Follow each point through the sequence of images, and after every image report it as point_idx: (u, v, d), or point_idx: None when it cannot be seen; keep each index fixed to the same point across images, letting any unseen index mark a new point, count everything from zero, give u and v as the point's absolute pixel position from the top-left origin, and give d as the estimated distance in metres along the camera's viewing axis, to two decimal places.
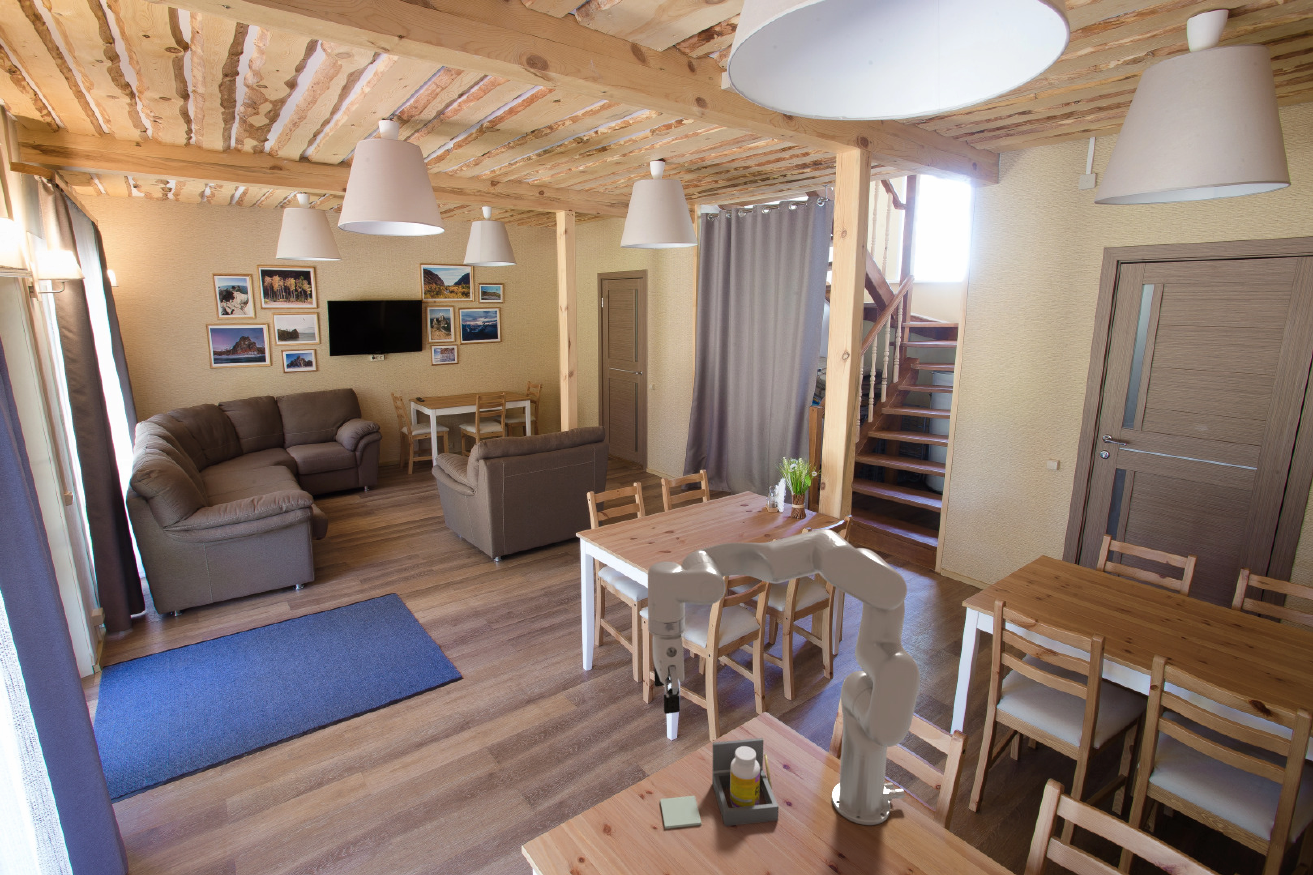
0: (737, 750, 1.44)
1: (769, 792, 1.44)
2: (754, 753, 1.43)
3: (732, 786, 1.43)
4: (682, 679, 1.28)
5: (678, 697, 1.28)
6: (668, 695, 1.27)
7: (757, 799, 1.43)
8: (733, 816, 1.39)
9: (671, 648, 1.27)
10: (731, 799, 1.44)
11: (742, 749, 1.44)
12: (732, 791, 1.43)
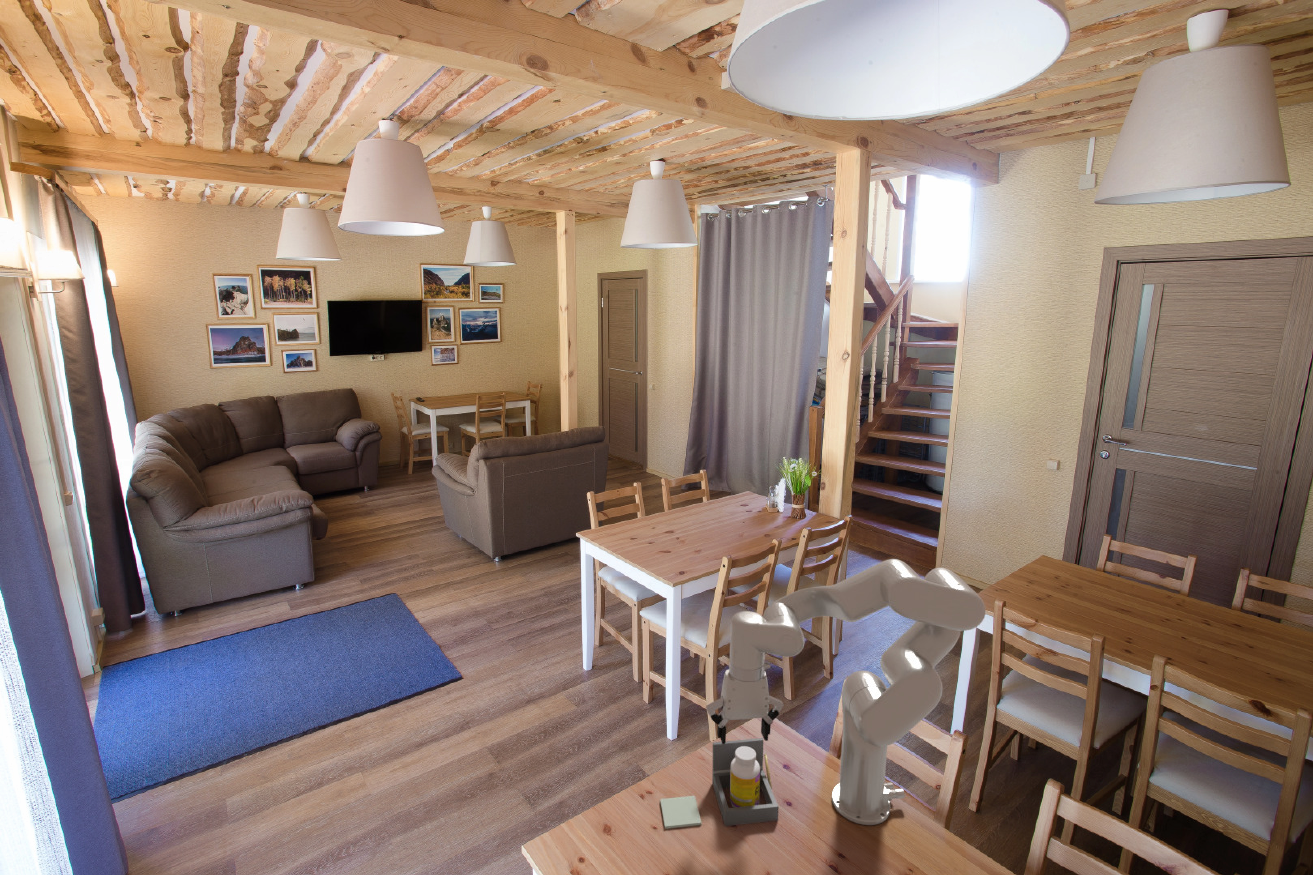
0: (737, 750, 1.44)
1: (769, 792, 1.44)
2: (754, 753, 1.43)
3: (732, 786, 1.43)
4: None
5: None
6: (772, 720, 1.41)
7: (757, 799, 1.43)
8: (733, 816, 1.39)
9: None
10: (731, 799, 1.44)
11: (742, 749, 1.44)
12: (732, 791, 1.43)
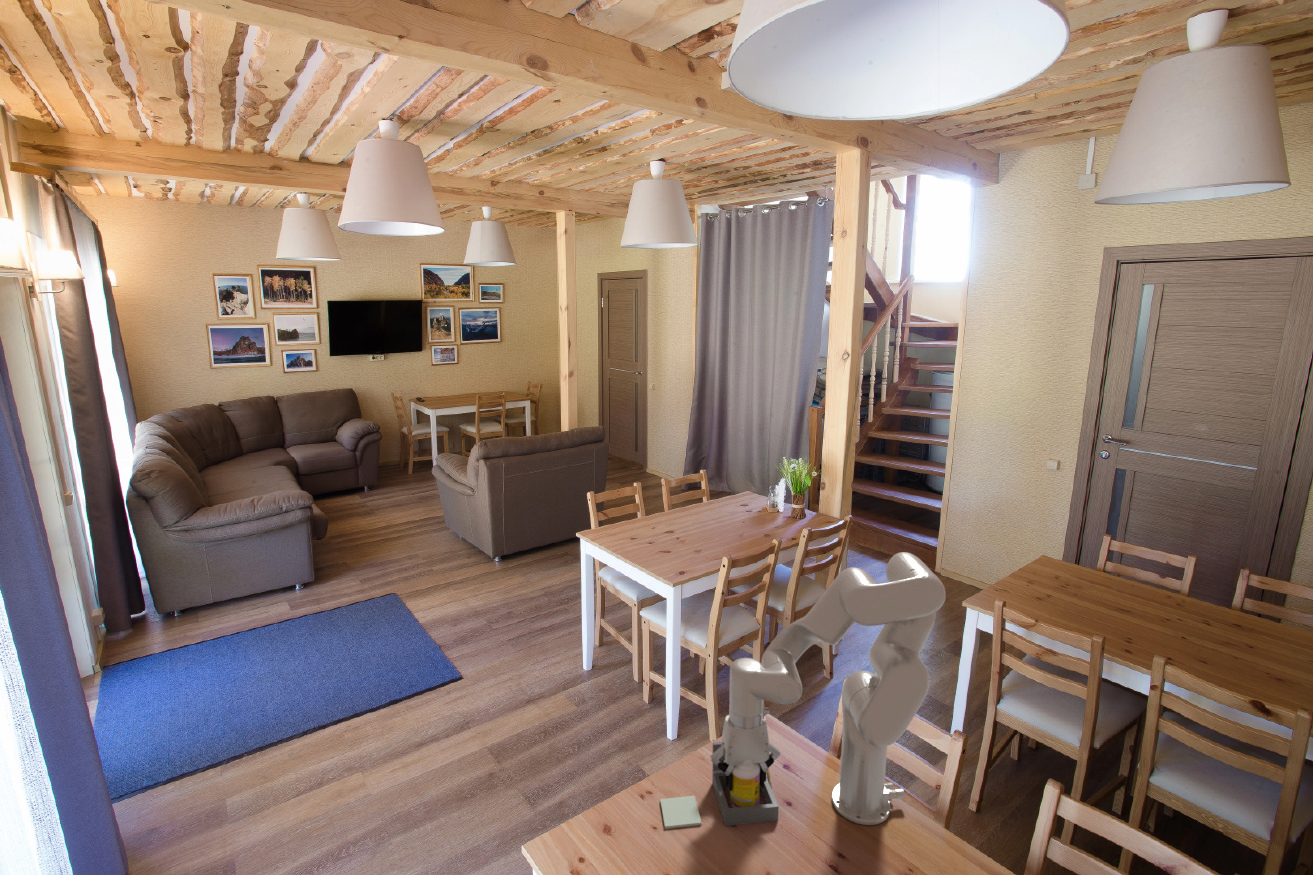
0: None
1: (769, 792, 1.44)
2: None
3: (732, 786, 1.43)
4: None
5: None
6: (768, 767, 1.43)
7: (757, 799, 1.43)
8: (733, 816, 1.39)
9: None
10: (731, 799, 1.44)
11: None
12: (732, 791, 1.43)
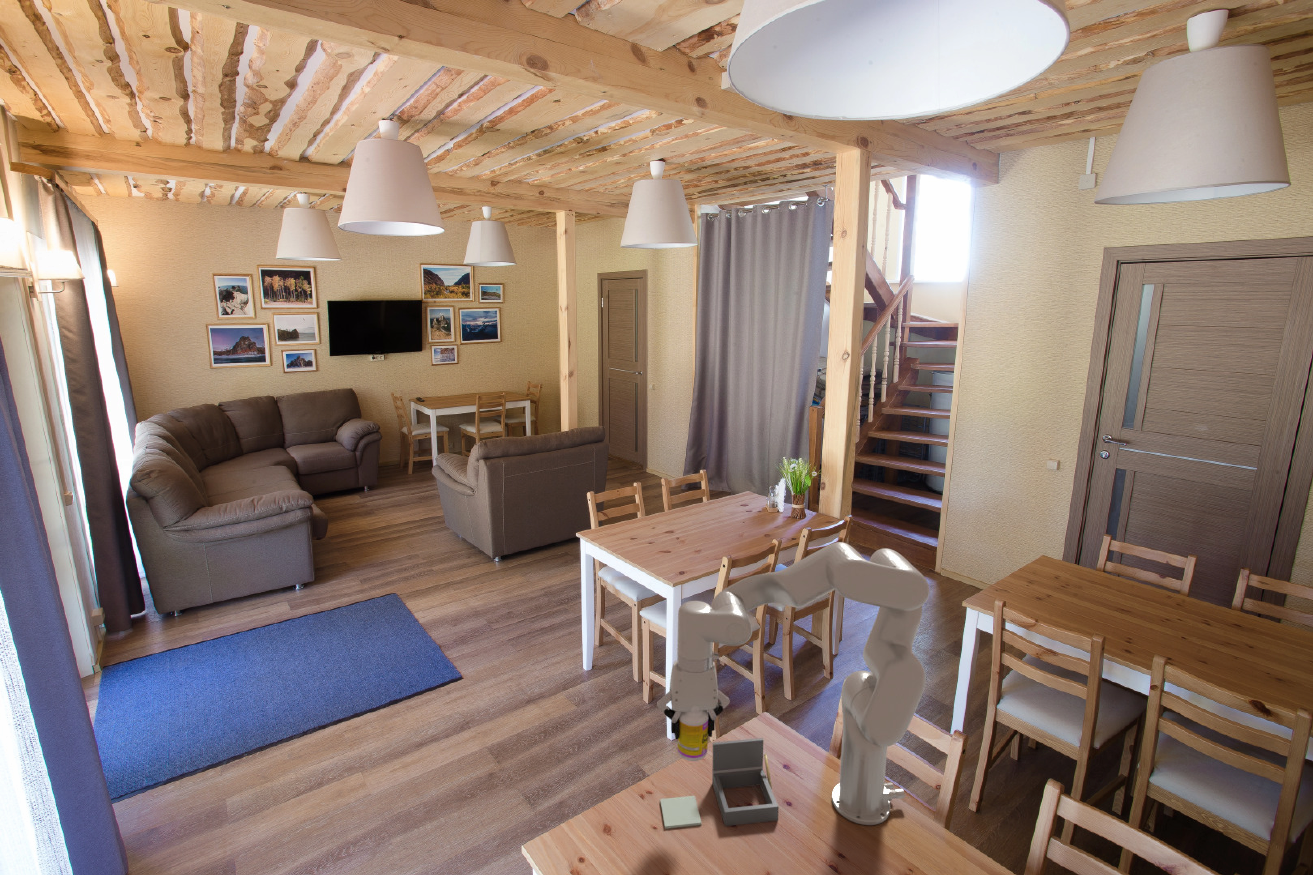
0: None
1: (769, 792, 1.44)
2: None
3: (679, 734, 1.38)
4: None
5: None
6: (716, 716, 1.38)
7: (705, 748, 1.38)
8: (733, 816, 1.39)
9: None
10: (678, 748, 1.39)
11: None
12: (679, 739, 1.38)
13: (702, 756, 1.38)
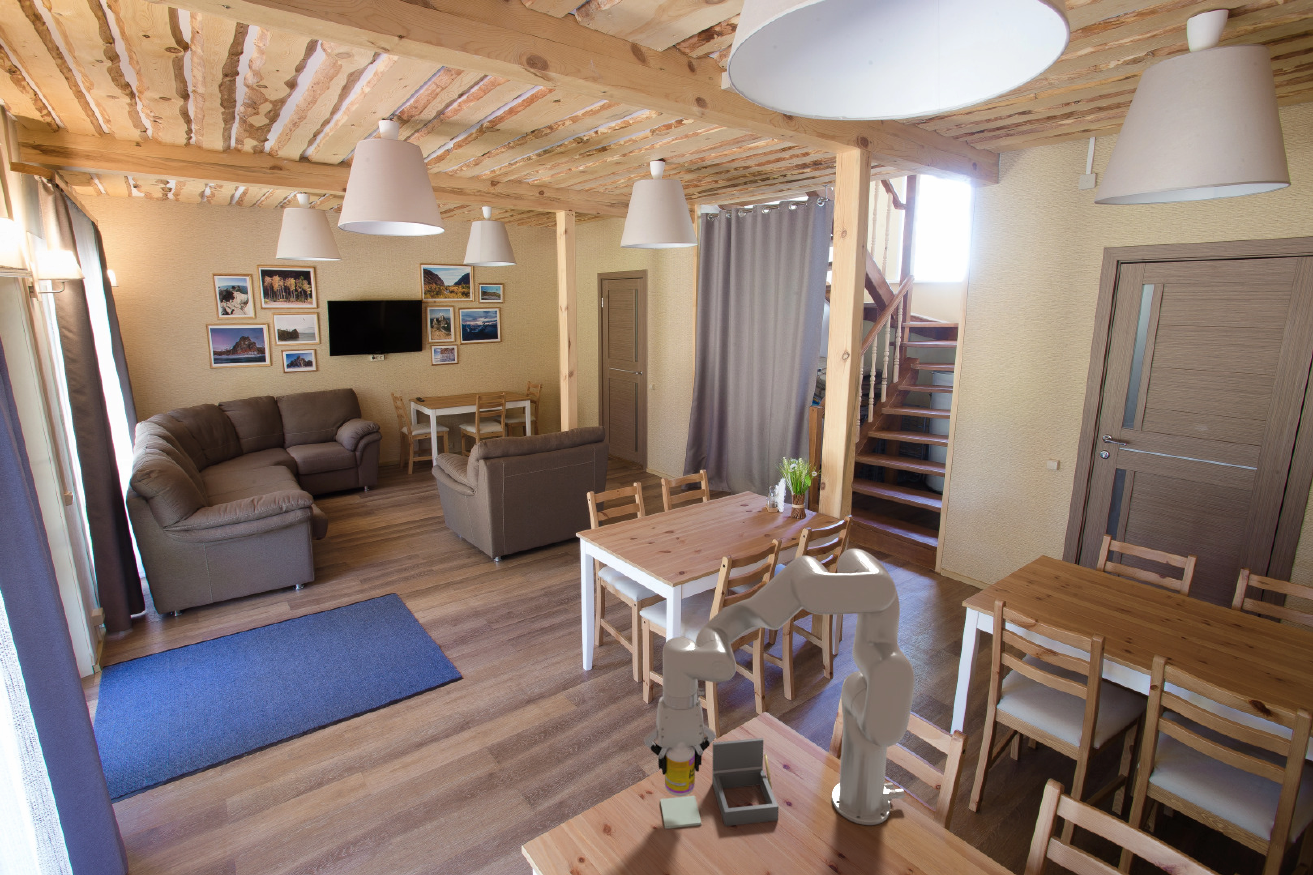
0: None
1: (769, 792, 1.44)
2: None
3: (666, 769, 1.39)
4: None
5: None
6: (703, 750, 1.39)
7: (692, 783, 1.39)
8: (733, 816, 1.39)
9: None
10: (665, 783, 1.40)
11: None
12: (666, 774, 1.39)
13: (689, 791, 1.39)
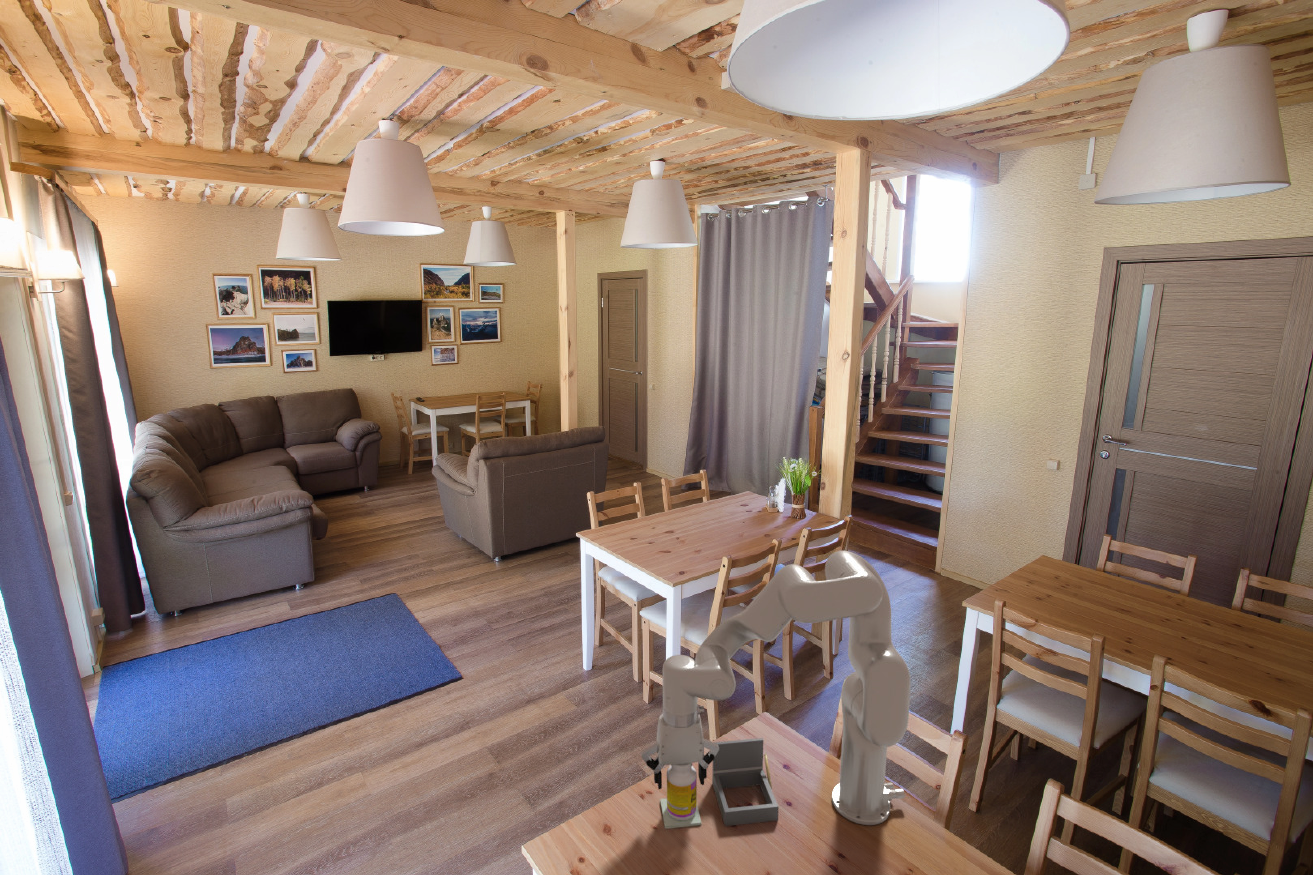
0: None
1: (769, 792, 1.44)
2: None
3: (668, 793, 1.40)
4: None
5: None
6: (708, 764, 1.40)
7: (694, 806, 1.40)
8: (733, 816, 1.39)
9: None
10: (667, 807, 1.41)
11: None
12: (668, 799, 1.40)
13: (691, 815, 1.40)
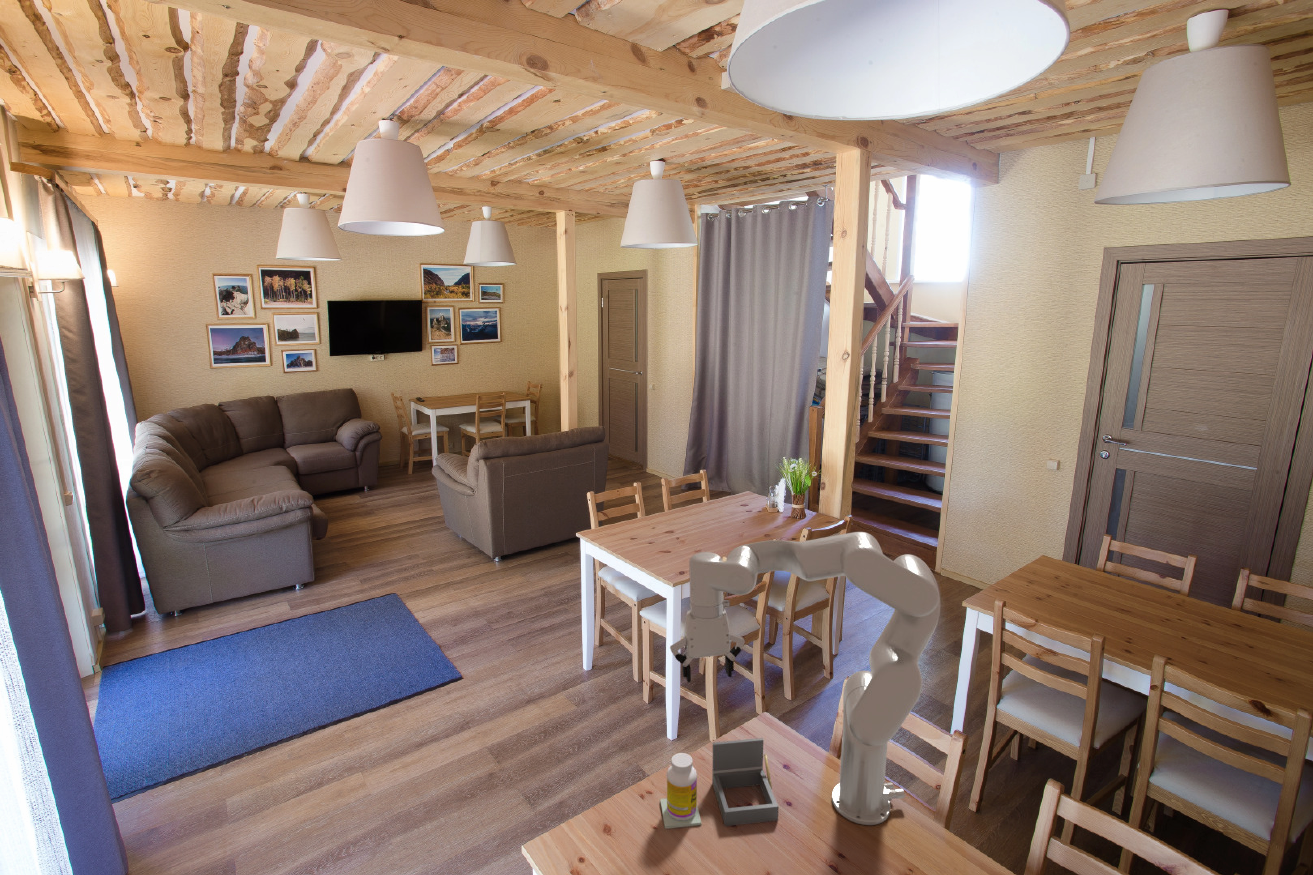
0: (673, 757, 1.41)
1: (769, 792, 1.44)
2: (690, 760, 1.40)
3: (668, 793, 1.40)
4: None
5: None
6: (735, 656, 1.46)
7: (694, 807, 1.40)
8: (733, 816, 1.39)
9: None
10: (668, 807, 1.41)
11: (679, 756, 1.41)
12: (668, 799, 1.40)
13: (691, 815, 1.40)
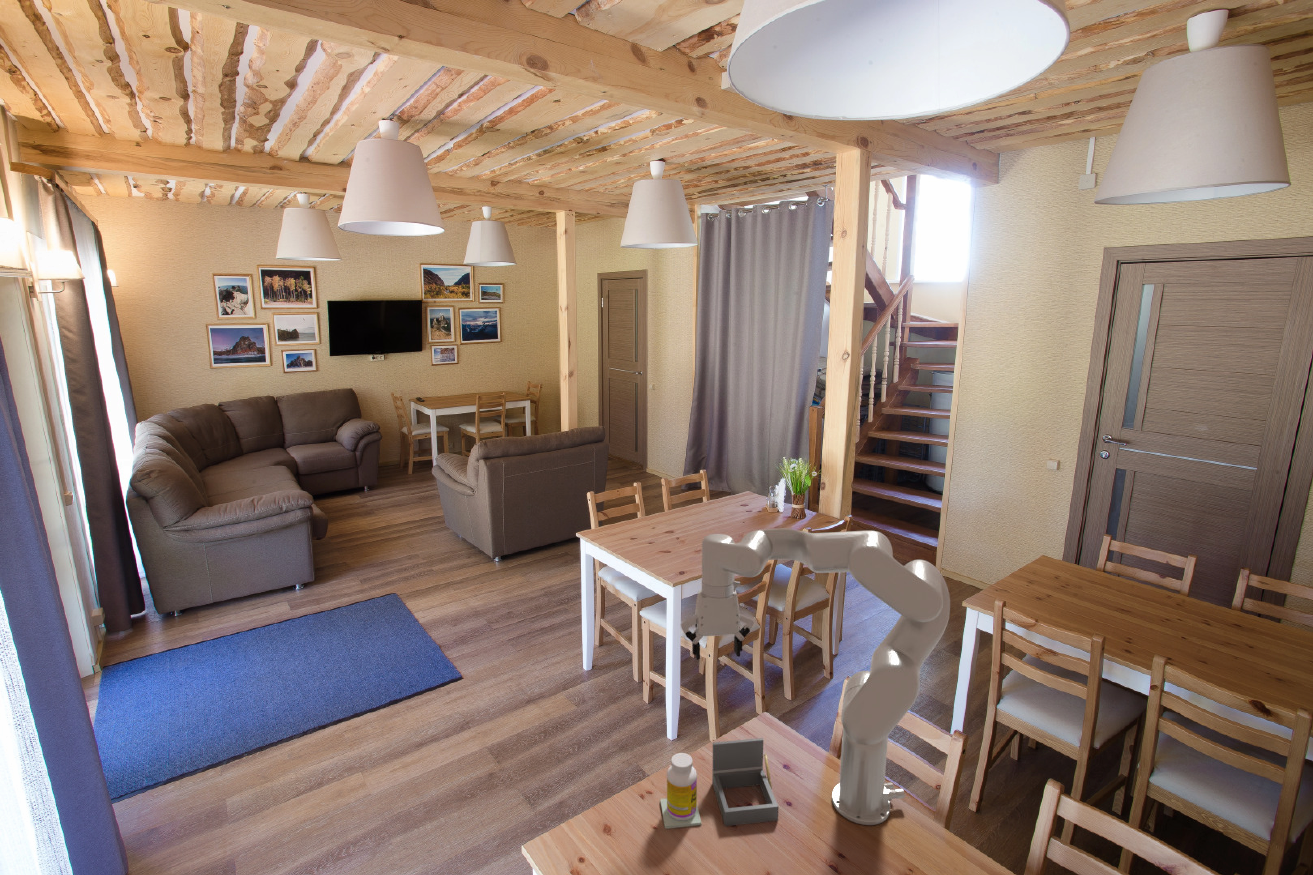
0: (673, 757, 1.41)
1: (769, 792, 1.44)
2: (690, 760, 1.40)
3: (668, 793, 1.40)
4: None
5: None
6: None
7: (694, 807, 1.40)
8: (733, 816, 1.39)
9: None
10: (668, 807, 1.41)
11: (679, 756, 1.41)
12: (668, 799, 1.40)
13: (691, 815, 1.40)
